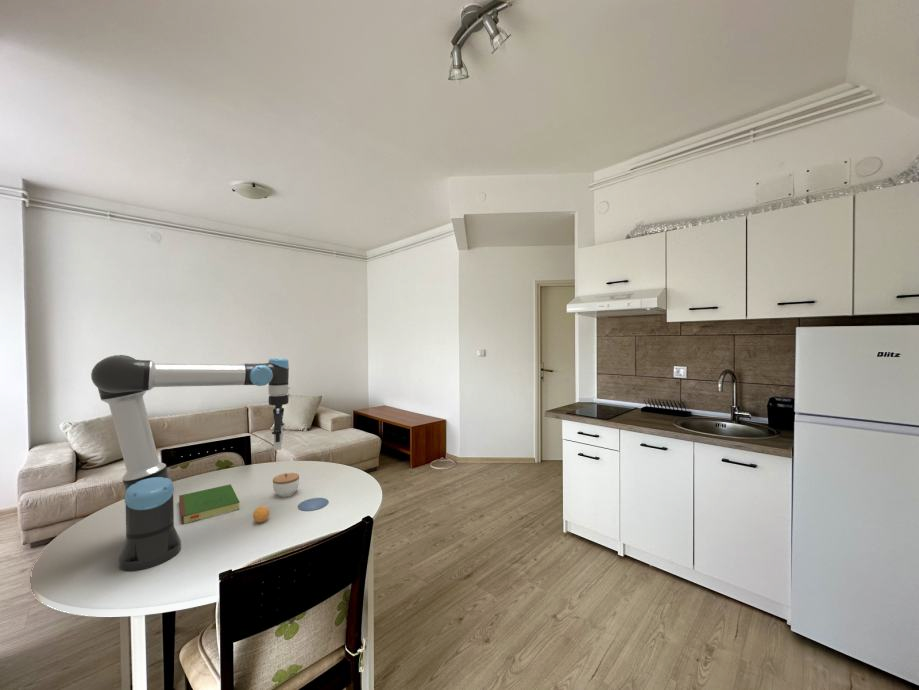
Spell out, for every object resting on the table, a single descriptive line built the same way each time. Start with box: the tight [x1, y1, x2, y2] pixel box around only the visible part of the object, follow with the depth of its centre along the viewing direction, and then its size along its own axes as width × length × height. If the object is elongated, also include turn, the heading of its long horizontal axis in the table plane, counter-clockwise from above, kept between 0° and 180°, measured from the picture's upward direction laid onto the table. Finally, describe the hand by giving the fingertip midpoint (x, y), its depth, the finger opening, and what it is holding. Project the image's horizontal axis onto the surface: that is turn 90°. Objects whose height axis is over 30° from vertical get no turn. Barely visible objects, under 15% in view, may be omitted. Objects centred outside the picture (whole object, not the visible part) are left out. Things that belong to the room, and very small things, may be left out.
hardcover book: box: [178, 484, 240, 525], centre depth 152 cm, size 25×19×4 cm
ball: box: [252, 505, 270, 523], centre depth 138 cm, size 6×6×6 cm
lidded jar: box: [272, 472, 300, 498], centre depth 163 cm, size 11×11×9 cm
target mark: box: [297, 497, 330, 512], centre depth 153 cm, size 12×12×1 cm
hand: (278, 445), depth 153 cm, fingers open, 13 cm apart
